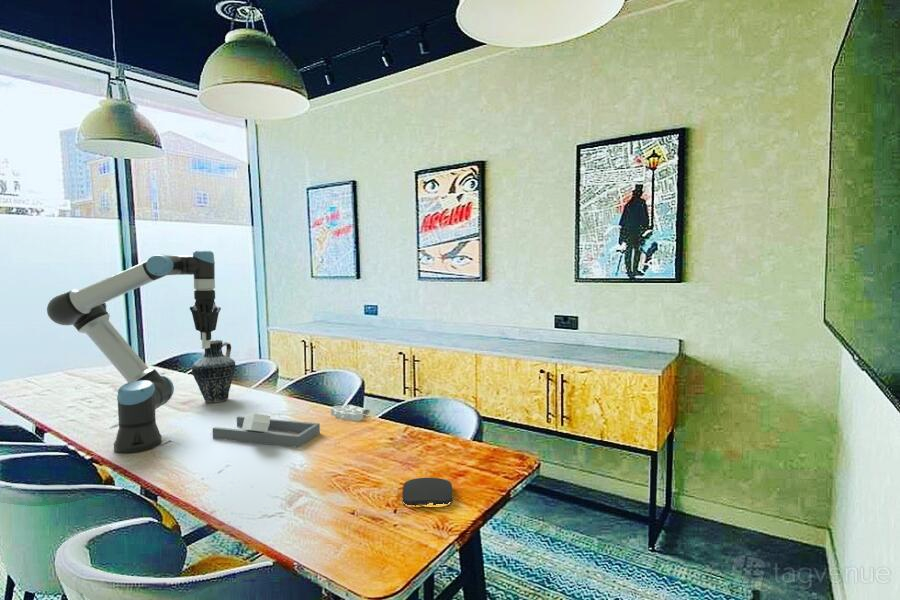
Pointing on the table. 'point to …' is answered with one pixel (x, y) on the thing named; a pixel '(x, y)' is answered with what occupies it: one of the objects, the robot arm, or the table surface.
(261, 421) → the milk
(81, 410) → the table surface
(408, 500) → the media streaming box
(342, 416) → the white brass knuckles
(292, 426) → the tray
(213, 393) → the jug
